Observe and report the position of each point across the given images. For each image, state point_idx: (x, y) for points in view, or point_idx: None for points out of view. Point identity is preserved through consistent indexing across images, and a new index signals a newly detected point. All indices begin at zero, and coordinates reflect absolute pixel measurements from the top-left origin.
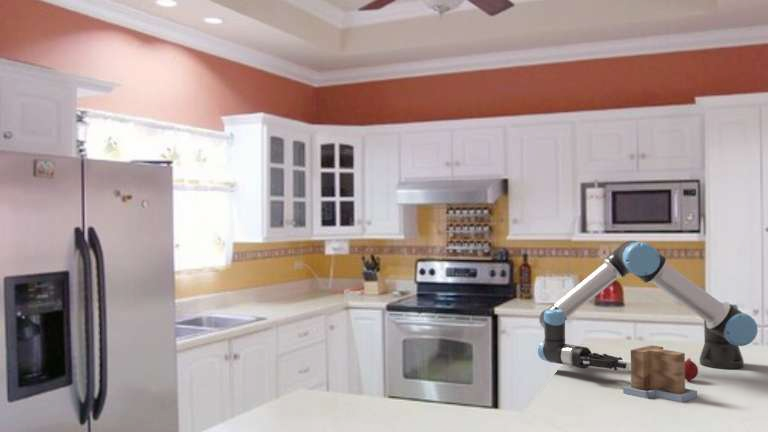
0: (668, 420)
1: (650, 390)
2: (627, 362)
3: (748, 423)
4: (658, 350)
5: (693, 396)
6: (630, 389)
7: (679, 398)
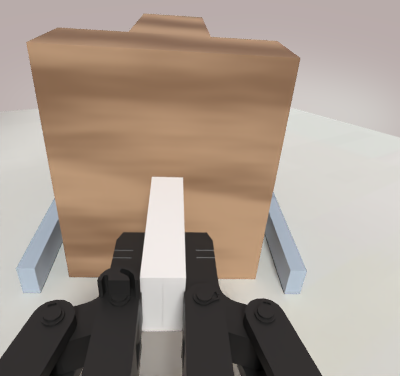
0: (367, 141)
1: None
2: (182, 214)
3: None
4: (173, 29)
5: None
6: (293, 245)
7: None
